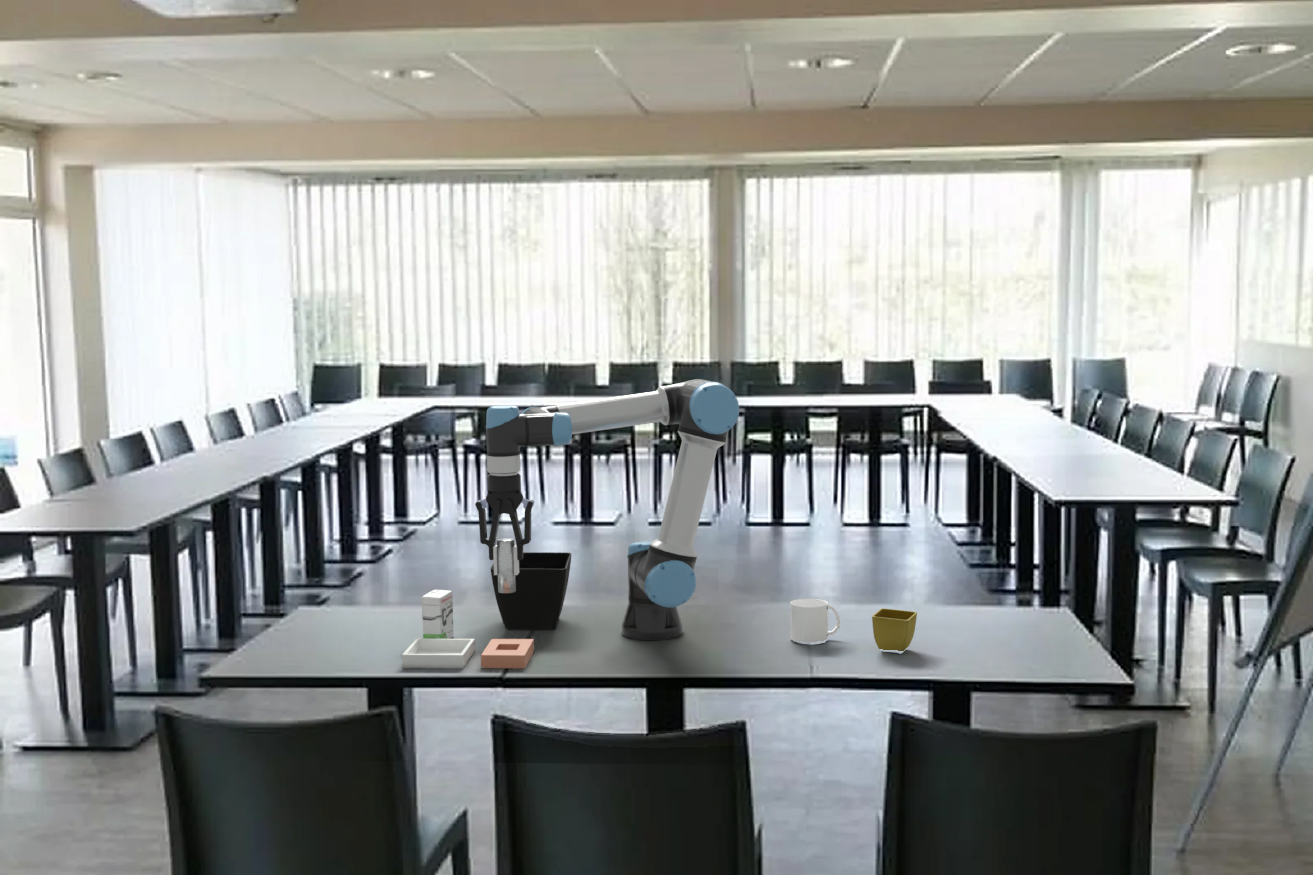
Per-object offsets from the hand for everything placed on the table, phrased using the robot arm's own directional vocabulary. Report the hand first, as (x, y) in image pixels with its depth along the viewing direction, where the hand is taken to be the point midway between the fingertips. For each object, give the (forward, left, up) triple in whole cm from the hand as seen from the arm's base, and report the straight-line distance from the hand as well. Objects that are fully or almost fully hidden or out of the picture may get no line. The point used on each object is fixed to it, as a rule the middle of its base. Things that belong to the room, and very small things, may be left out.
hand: (506, 573), depth 310 cm
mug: (-72, -18, -21) cm, 77 cm away
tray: (+16, +1, -20) cm, 26 cm away
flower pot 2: (-90, -9, -21) cm, 93 cm away
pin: (0, 0, -4) cm, 4 cm away
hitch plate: (0, 0, -20) cm, 20 cm away
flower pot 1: (-1, -32, -21) cm, 38 cm away
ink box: (+20, -16, -21) cm, 33 cm away
